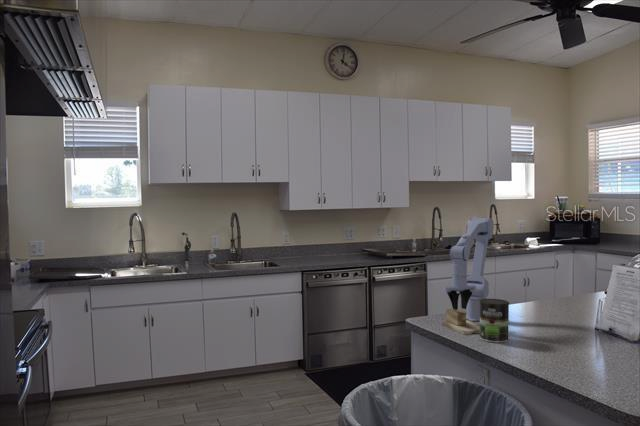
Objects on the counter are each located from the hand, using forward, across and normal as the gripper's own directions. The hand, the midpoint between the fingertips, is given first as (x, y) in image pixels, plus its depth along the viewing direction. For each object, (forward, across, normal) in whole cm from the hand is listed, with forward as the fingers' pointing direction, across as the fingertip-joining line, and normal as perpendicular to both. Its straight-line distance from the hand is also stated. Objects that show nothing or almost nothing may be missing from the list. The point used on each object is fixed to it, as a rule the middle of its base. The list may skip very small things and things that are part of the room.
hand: (459, 309), depth 206 cm
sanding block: (+6, +1, -2) cm, 6 cm away
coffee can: (+8, 0, +20) cm, 21 cm away
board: (+7, -1, +3) cm, 8 cm away
